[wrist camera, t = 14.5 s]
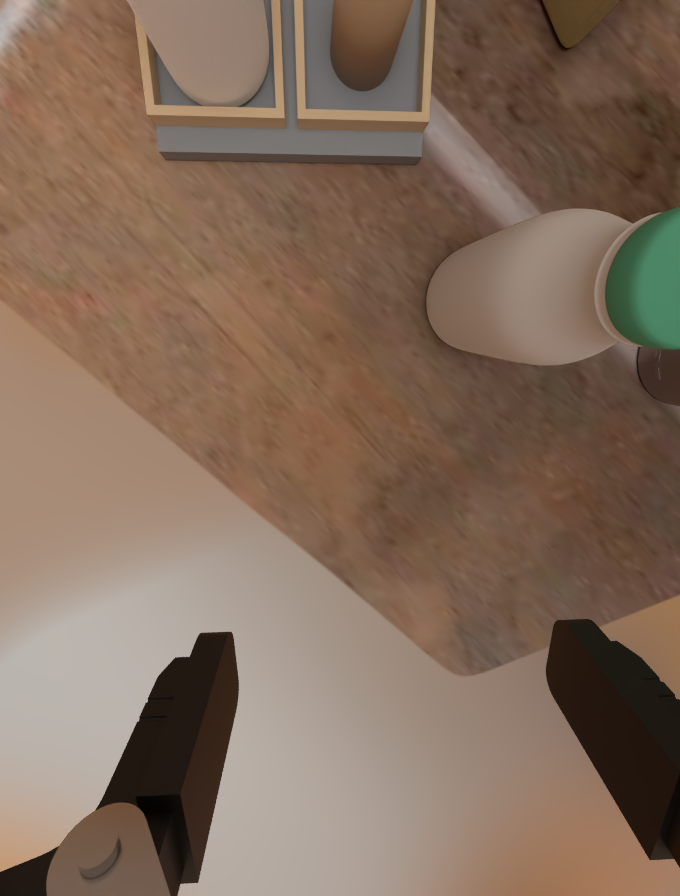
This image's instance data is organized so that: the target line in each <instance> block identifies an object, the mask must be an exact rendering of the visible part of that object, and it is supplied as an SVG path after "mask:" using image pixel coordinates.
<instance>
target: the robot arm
mask: <svg viewBox="0 0 680 896" xmlns="http://www.w3.org/2000/svg"><path fill="white" fill-rule="evenodd" d="M638 368H639V375H640V378H641V381H642V384H643V385H644V387H645V388H646V390H647V391H648V392H649V393H650V394H651V395H652V396H653V397H654V398H656V399H658V400H660V401H662V402H665V403H669V404H673V405H677V406H680V349H679V350H672V349H657V348H650V347H640V350H639V357H638ZM546 677H547V682H548V685H549V689H550V691H551V694H552V695H553V697H554V699H555V701H556V703H557V704H558V706H559V708H560V709H561V711H562V713H563V714H564V716H565V718H566V719H567V721H568V723H569V724H570V726H571V728H572V730H573V731H574V733H575V735H576V736H577V738H578V740H579V741H580V743H581V745H582V746H583V748H584V750H585V752H586V753H587V755H588V757H589V758H590V760H591V762H592V763H593V765H594V767H595V768H596V770H597V772H598V773H599V775H600V777H601V779H602V780H603V782H604V783H605V785H606V787H607V789H608V790H609V792H610V794H611V795H612V797H613V799H614V800H615V802H616V804H617V805H618V807H619V809H620V811H621V812H622V814H623V816H624V817H625V819H626V821H627V822H628V824H629V826H630V827H631V829H632V831H633V832H634V834H635V836H636V837H637V839H638V841H639V843H640V844H641V846H642V848H643V849H644V851H645V853H646V854H647V856H648V858H649V859H650V860H659V859H660V860H661V859H675V861H676V862H677V864H678V865H679V867H680V700H679V699H676V698H675V694H674V693H673V692H672V691H671V690H670V689H669V688H668V687H667V686H666V684H665V683H664V682H661V681H660V679H659V677H658V676H657V675H656V673H655V672H653V670H652V669H650V667H649V666H648V665H647V664H646V663H645V661H644V660H643V659H642V658H641V657H639V656H638V655H637V654H635V653H634V652H632V651H631V650H629V649H628V648H626V647H625V646H624V645H622V644H621V643H619V642H618V641H610V640H609V639H608V637H607V636H606V635H605V634H604V633H603V632H602V631H601V630H600V628H599V627H598V626H597V625H596V624H595V623H594V622H593V621H592V620H589V619H576V620H558V621H556V622H555V624H554V626H553V631H552V637H551V643H550V648H549V654H548V659H547V665H546ZM238 681H239V680H238V671H237V663H236V655H235V646H234V639H233V634H232V632H215V633H214V632H213V633H200V634H199V636H198V638H197V640H196V642H195V645H194V647H193V650H192V653H191V655H190V657H178V658H175V659H174V660H173V661H172V662H171V663H170V664H169V665H168V666H167V667H166V668H165V669H164V671H163V672H162V673H161V674H160V675H159V676H158V678H157V680H156V682H155V684H154V687H153V689H152V691H151V693H150V695H149V697H148V702H147V703H146V704H145V706H144V708H143V710H142V713H141V715H140V719H139V722H137V724H136V726H135V728H134V730H133V732H132V735H131V737H130V739H129V741H128V743H127V746H126V748H125V750H124V752H123V754H122V757H121V759H120V761H119V763H118V765H117V768H116V770H115V772H114V774H113V776H112V778H111V781H110V783H109V785H108V787H107V789H106V792H105V794H104V796H103V798H102V800H101V802H100V804H99V805H98V807H97V808H96V810H95V811H94V812H92V813H91V814H89V815H88V816H87V817H85V818H84V819H83V820H82V821H80V823H78V824H77V825H76V826H75V827H74V828H73V829H72V830H71V831H70V832H69V833H68V835H67V836H66V838H65V839H64V840H63V841H62V843H61V844H60V846H58V847H56V848H55V849H53V850H51V851H49V852H47V853H45V854H43V855H41V856H39V857H36V858H34V859H31V860H29V861H27V862H24V863H22V864H19V865H17V866H14V867H12V868H9V869H7V870H4V871H2V872H0V896H177V895H178V891H179V886H180V884H184V883H198V880H199V875H200V871H201V866H202V862H203V858H204V853H205V849H206V844H207V840H208V835H209V830H210V826H211V822H212V817H213V813H214V808H215V804H216V799H217V794H218V790H219V785H220V781H221V777H222V772H223V768H224V763H225V759H226V754H227V749H228V745H229V740H230V735H231V731H232V727H233V722H234V718H235V713H236V709H237V702H238V690H239V682H238Z"/></svg>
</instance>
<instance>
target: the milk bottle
mask: <svg viewBox="0 0 680 896" xmlns="http://www.w3.org/2000/svg"><path fill="white" fill-rule="evenodd" d="M426 309H427V315H428V319H429V322H430V324H431V326H432V328H433V330H434V331H435V333H436V334H437V335H438V337H439V338H440V339H441V340H443V341H444V342H445V343H447V344H448V345H450V346H452V347H454V348H457V349H460V350H463V351H467V352H471V353H475V354H480V355H484V356H489V357H493V358H498V359H503V360H508V361H513V362H518V363H525V364H532V365H561V364H567V363H572V362H576V361H580V360H583V359H586V358H589V357H591V356H594V355H596V354H598V353H600V352H602V351H604V350H606V349H607V348H609V347H611V346H613V345H614V344H616V343H618V342H621V343H624V344H627V345H630V346H637V347H650V348H657V349H672V350H679V349H680V207H677V208H674V209H671V210H668V211H665V212H662V213H657V214H653V215H650V216H647V217H645V218H643V219H641V220H639V221H637V222H635V223H634V224H632V223H630V222H628V221H626V220H624V219H622V218H620V217H618V216H616V215H613V214H610V213H608V212H604V211H599V210H594V209H565V210H559V211H553V212H549V213H545V214H542V215H540V216H537V217H534V218H531V219H528V220H525V221H522V222H520V223H517V224H515V225H513V226H510V227H508V228H505V229H503V230H501V231H498V232H496V233H494V234H491V235H489V236H487V237H485V238H482V239H480V240H478V241H476V242H473V243H471V244H469V245H467V246H465V247H462V248H461V249H459V250H457V251H455V252H454V253H452V254H451V255H449V256H448V257H447V258H446V259H445V260H444V261H443V262H442V263H441V264H440V265H439V267H438V268H437V269H436V271H435V272H434V274H433V276H432V278H431V281H430V283H429V287H428V291H427V297H426Z"/></svg>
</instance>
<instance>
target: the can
mask: <svg viewBox="0 0 680 896" xmlns="http://www.w3.org/2000/svg"><path fill="white" fill-rule="evenodd" d="M127 1H128V3H129V5H130V6H131V8H132V10H133V12H134V13H135V15H136V17H137V19H138V20H139V22H140V24H141V25H142V27H143V29H144V31H145V32H146V34H147V36H148V37H149V39H150V41H151V43H152V44H153V46H154V48H155V49H156V51H157V53H158V55H159V56H160V58H161V60H162V61H163V63H164V65H165V66H166V68H167V70H168V71H169V73H170V75H171V76H172V78H173V80H174V81H175V82H176V84H177V85H178V86H179V88H180V89H181V90H182V91H183V92H184V93H185V94H186V95H187V96H188V97H189V98H191V99H192V100H193V101H195V102H197V103H198V104H200V105H202V106H214V107H238V106H241V105H242V104H244V103H246V102H247V101H248V100H250V99H251V98H252V97H253V96H254V95H255V94H256V92H257V91H258V90H259V88H260V87H261V85H262V83H263V81H264V78H265V76H266V73H267V69H268V64H269V37H268V29H267V22H266V15H265V8H264V1H263V0H127Z"/></svg>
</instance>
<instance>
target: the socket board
mask: <svg viewBox="0 0 680 896" xmlns="http://www.w3.org/2000/svg"><path fill="white" fill-rule="evenodd" d="M263 1H264V8H265V15H266V22H267V29H268V37H269V64H268V69H267V73H266V76H265V78H264V81H263V83H262V85H261V87H260V88H259V90H258V91H257V92H256V94H255V95H254V96H253V97H252V98H251V99H250V100H248V101H247V102H246V103H244V104H242V105H241V106H238V107H214V106H202V105H200V104H198V103H197V102H195V101H193V100H192V99H191V98H189V97H188V96H187V95H186V94H185V93H184V92H183V91H182V90H181V89H180V88H179V86H178V85H177V84H176V82H175V81H174V80H173V78H172V76H171V75H170V73H169V71H168V70H167V68H166V66H165V65H164V63H163V61H162V60H161V58H160V56H159V55H158V53H157V51H156V49H155V48H154V46H153V44H152V43H151V41H150V39H149V37H148V36H147V34H146V32H145V31H144V29H143V27H142V25H141V24H140V22H139V20H138V19H137V17H136V15H135V22H136V30H137V39H138V47H139V55H140V63H141V71H142V79H143V87H144V96H145V104H146V112H147V116H148V117H149V118H150V119H151V120H152V122H153V123H154V124H155V125H156V132H157V141H158V149H159V152H160V153H161V155H162V156H163V157H164V158H165V159H166V160H197V161H251V162H306V163H360V164H415V165H416V164H417V163H418V161H419V160H420V159H421V157H422V143H423V131H424V130H425V128H426V126H427V125H428V123H429V117H430V97H431V77H432V57H433V38H434V18H435V0H263ZM134 14H135V13H134Z"/></svg>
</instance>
